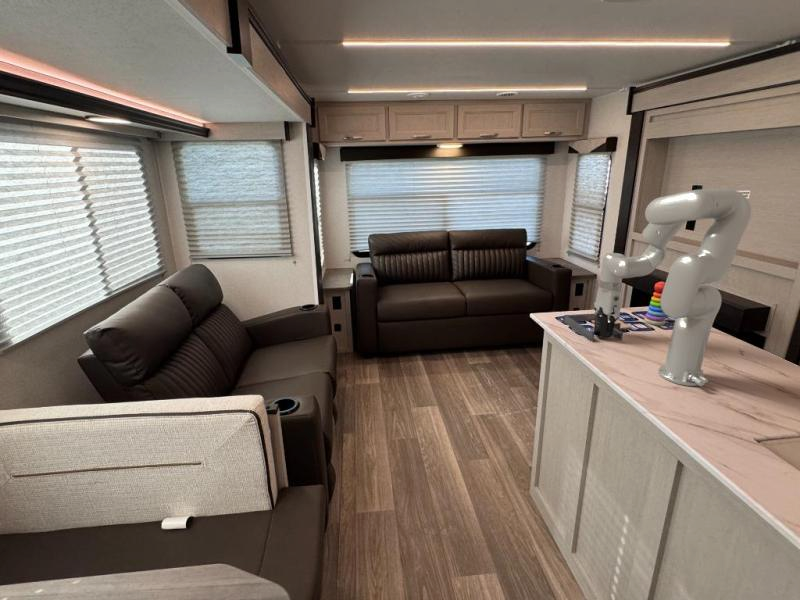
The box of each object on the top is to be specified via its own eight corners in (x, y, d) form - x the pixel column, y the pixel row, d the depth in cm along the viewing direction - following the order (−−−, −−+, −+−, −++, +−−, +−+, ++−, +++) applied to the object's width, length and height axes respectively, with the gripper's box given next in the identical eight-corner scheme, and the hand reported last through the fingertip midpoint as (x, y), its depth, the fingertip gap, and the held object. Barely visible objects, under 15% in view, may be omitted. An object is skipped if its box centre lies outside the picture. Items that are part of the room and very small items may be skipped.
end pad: (630, 328, 173) (630, 327, 173) (604, 329, 172) (604, 328, 172) (616, 319, 183) (616, 318, 183) (591, 321, 182) (591, 320, 181)
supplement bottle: (606, 331, 167) (610, 303, 163) (615, 337, 161) (619, 309, 157) (590, 331, 167) (593, 304, 163) (598, 338, 160) (602, 310, 157)
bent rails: (634, 339, 162) (635, 332, 161) (591, 341, 160) (592, 335, 160) (601, 319, 184) (602, 313, 183) (563, 321, 182) (563, 315, 181)
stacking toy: (668, 326, 175) (677, 284, 169) (650, 326, 175) (658, 284, 169) (658, 319, 182) (666, 279, 176) (640, 319, 182) (647, 279, 177)
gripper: (633, 291, 149) (626, 335, 155) (605, 278, 166) (599, 319, 171) (614, 292, 149) (607, 336, 154) (588, 279, 165) (583, 320, 171)
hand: (603, 327), depth 163 cm, fingers closed on supplement bottle, 6 cm apart
